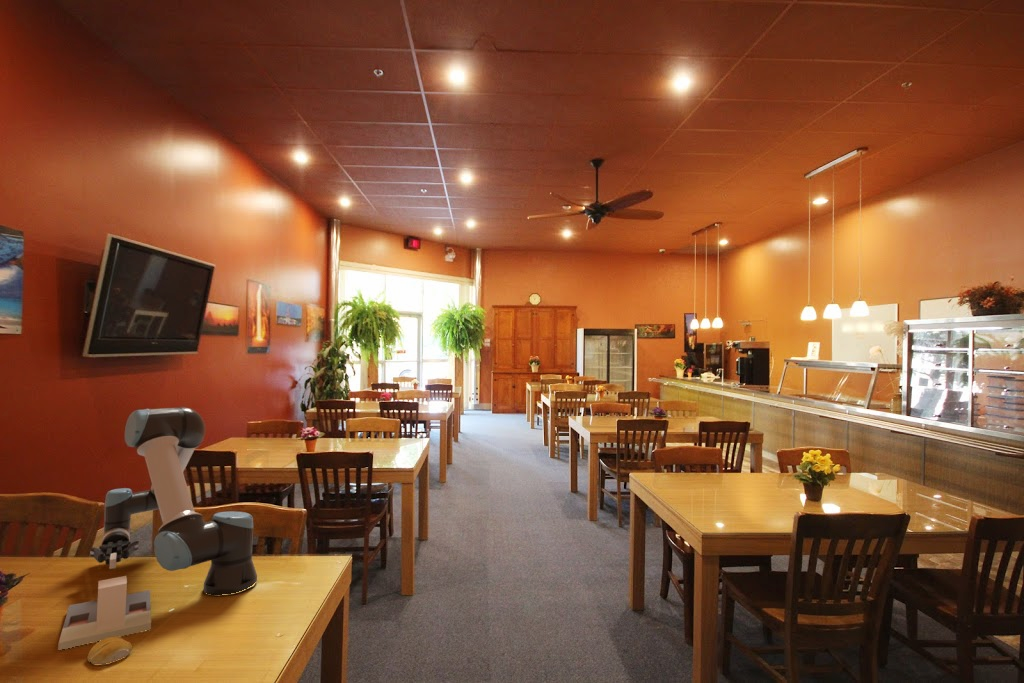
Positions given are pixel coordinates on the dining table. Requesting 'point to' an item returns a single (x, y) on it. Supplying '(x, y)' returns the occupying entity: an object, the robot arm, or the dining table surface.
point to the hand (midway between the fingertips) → (112, 563)
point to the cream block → (111, 603)
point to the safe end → (88, 631)
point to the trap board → (88, 610)
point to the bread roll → (109, 650)
